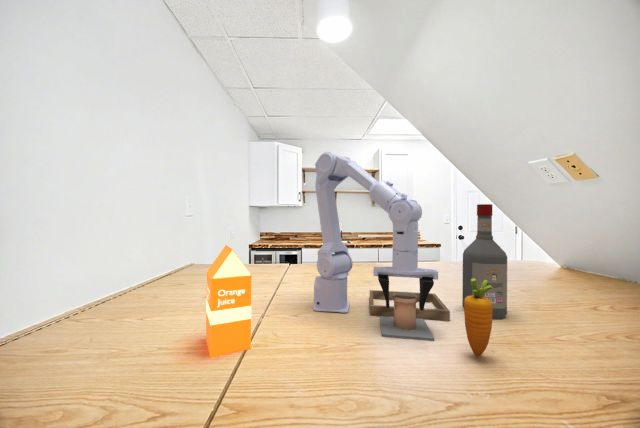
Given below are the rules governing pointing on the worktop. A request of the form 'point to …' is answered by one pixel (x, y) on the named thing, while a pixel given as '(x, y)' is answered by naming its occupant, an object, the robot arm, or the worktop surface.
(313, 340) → the worktop surface
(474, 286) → the carrot
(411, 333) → the potting mat
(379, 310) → the cold frame
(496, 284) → the liquor
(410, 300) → the terracotta pot
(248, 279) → the orange juice
